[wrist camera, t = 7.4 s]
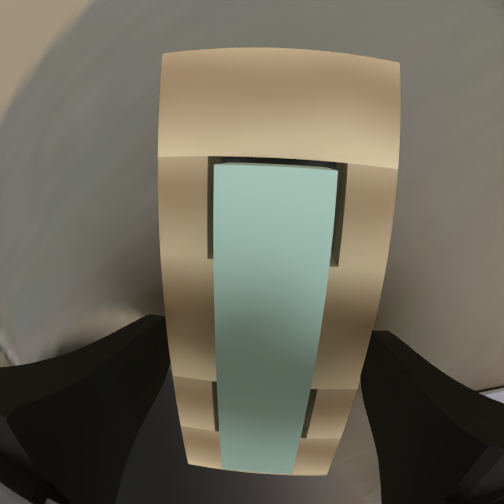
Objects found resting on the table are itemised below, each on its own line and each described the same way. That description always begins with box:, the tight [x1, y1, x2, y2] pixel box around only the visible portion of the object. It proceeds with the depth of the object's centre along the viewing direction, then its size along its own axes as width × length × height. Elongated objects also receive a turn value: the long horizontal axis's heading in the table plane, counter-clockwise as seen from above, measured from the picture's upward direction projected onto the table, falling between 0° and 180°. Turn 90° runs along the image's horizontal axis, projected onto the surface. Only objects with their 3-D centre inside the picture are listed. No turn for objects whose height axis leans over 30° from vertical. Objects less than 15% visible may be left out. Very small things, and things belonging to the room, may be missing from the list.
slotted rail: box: [158, 48, 400, 475], centre depth 13 cm, size 20×8×2 cm, turn 178°
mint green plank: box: [213, 163, 338, 474], centre depth 12 cm, size 12×3×5 cm, turn 178°
